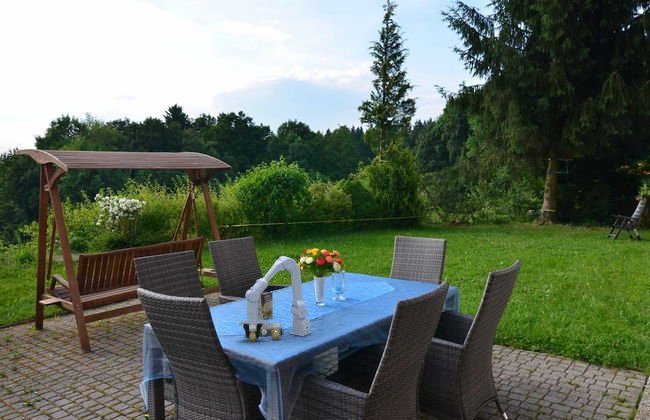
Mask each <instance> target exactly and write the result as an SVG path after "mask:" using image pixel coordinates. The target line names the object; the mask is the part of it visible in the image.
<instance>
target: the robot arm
mask: <svg viewBox="0 0 650 420" xmlns="http://www.w3.org/2000/svg"><path fill="white" fill-rule="evenodd" d="M285 270H286V271H288V272H290V278H291V290H292V291H291V292H292V302H291V307H290V312H291V314H292V331H290V332H289V335H295V336H299V337H304V336H308V335H309V334H311V333H312V331H311V320H310V319H309V318H307V316H308V309H307V307H306V304H305V302H304V299H303V286H302V273H301V268H300V266H299V265H298V263H297V262H296V260H295V259H294V258H291V257H288V256H285V255H281V256H279V258H278V259H276V260H275V262H274V263H273V264H272V266H271V267H270V268H269V270H268V271H267V272H266V274H265V275H264V276H263V277H261V278H259V279H256V282H255V284H253V286H251V287H250V289H248V290H246V292H245V295H244V298H245V300H246V317H247V318H246V319H244V320H243V319H242V320H239V321H238V326H241V325H242V327H243V329H244V332H245V336H246V335H247V337H246V338H247V339H248V340H249V325H257V326H256V330H257V340H258V339H259V338H260V336H259V333H260V330H261V327H262V325H266V324H267V323H268V321H267V320H268V319H267V320H258V299H259V295H260V294H261V293H262V292H265V290H266V289H267V288H268V286H269V282H270V281H271V279H272V278H274V277H275V275H276V274H277V273H278V272H281V271H285Z"/></svg>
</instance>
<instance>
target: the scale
mask: <svg viewBox="0 0 650 420" xmlns="http://www.w3.org/2000/svg"><path fill="white" fill-rule="evenodd" d="M256 326H257V325H249V331H251V330H256ZM273 329H280V336H283V335H284V334H283V326H282V324H281V323H280V322H267V324H266V325H262V327H261V330H260V333H259V337H268V336H269V337H272V330H273ZM256 331H257V330H256ZM245 338H247V335H246V334H245Z"/></svg>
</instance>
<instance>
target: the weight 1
mask: <svg viewBox="0 0 650 420" xmlns="http://www.w3.org/2000/svg"><path fill="white" fill-rule="evenodd" d="M249 341H250V343H255V342H257V341H258V339H257V331H256V330H251V331H249V339H248V342H249Z"/></svg>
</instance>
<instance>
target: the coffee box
mask: <svg viewBox="0 0 650 420" xmlns="http://www.w3.org/2000/svg"><path fill="white" fill-rule="evenodd" d="M273 307H274V306H273V292H270V291H263V292H262V293H261V294H260V295H259V299H258V320H270V319H273V317H274V313H273V312H274V311H273V310H274V309H273Z"/></svg>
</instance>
